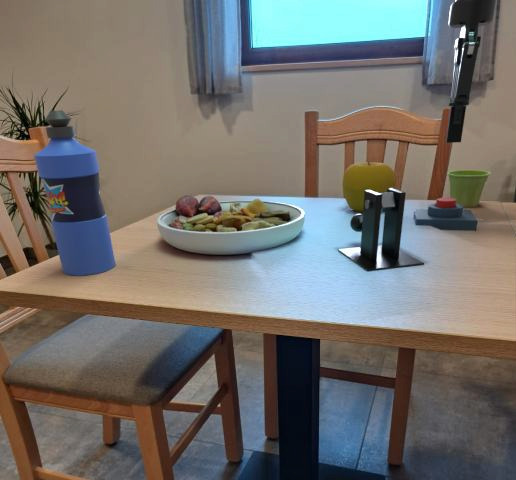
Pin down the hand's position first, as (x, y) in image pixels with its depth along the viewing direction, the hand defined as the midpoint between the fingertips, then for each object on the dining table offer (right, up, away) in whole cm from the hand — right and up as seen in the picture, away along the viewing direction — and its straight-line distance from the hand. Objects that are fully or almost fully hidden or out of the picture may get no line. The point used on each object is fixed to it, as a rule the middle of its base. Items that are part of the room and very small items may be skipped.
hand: (453, 142), depth 94 cm
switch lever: (-20, -20, -14) cm, 32 cm away
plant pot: (+11, -8, +20) cm, 24 cm away
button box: (+1, -15, +7) cm, 17 cm away
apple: (-12, -7, +23) cm, 27 cm away
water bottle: (-70, -28, -11) cm, 76 cm away
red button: (+1, -12, +6) cm, 13 cm away
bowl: (-45, -19, +3) cm, 49 cm away
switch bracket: (-19, -27, -14) cm, 36 cm away
